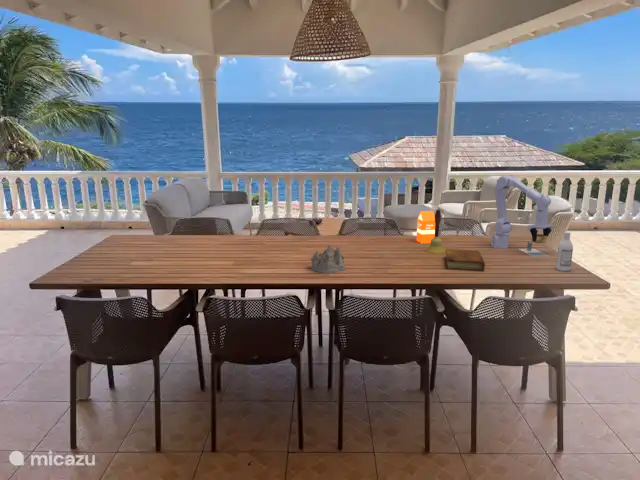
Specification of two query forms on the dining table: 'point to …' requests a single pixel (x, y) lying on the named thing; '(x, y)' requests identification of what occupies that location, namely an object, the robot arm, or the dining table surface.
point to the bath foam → (564, 253)
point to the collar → (540, 238)
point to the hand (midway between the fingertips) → (539, 241)
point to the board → (533, 252)
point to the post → (529, 246)
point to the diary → (464, 260)
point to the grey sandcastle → (328, 261)
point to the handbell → (436, 238)
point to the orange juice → (425, 227)
